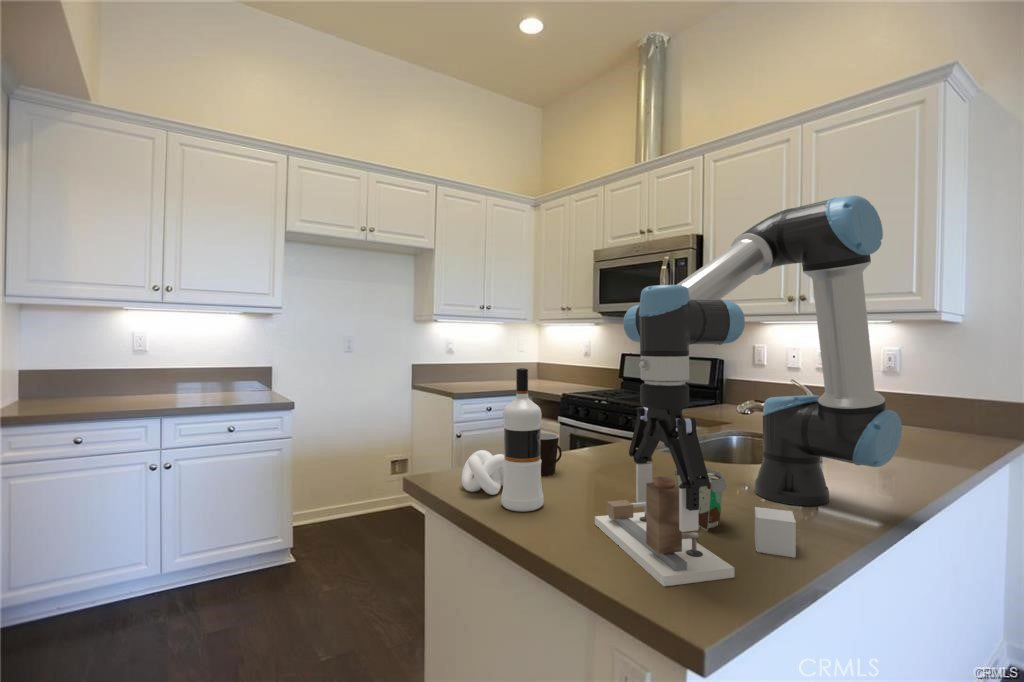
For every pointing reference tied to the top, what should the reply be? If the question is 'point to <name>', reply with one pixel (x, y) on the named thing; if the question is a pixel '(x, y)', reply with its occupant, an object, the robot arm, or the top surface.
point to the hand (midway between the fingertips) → (664, 514)
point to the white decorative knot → (483, 472)
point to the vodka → (522, 450)
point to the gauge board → (663, 567)
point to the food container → (709, 500)
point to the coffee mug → (549, 453)
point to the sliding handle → (664, 517)
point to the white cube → (775, 532)
